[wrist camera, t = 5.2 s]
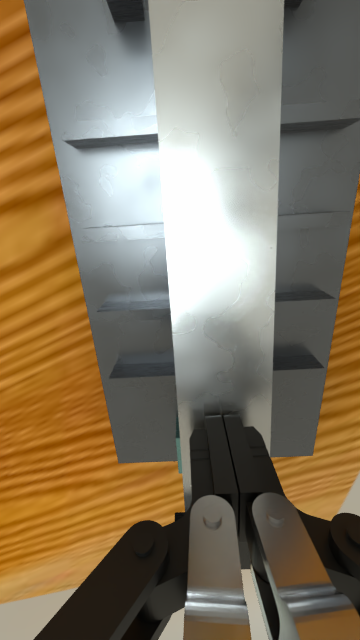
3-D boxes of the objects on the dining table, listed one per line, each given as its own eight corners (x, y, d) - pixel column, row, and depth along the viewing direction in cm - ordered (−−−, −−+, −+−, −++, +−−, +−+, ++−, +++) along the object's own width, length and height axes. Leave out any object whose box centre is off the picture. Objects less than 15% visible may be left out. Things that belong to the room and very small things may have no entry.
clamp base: (376, -112, 11) (593, -469, 5) (301, 434, 21) (343, 514, 15) (28, -75, 11) (-131, -368, 5) (124, 441, 21) (103, 521, 16)
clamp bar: (290, -112, 8) (334, -262, 6) (269, 515, 15) (286, 568, 12) (128, -96, 8) (105, -234, 6) (178, 518, 15) (176, 570, 12)
